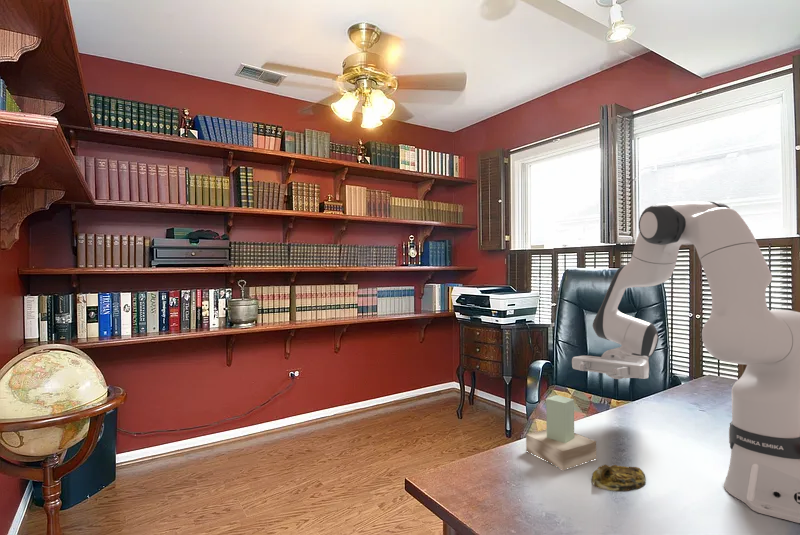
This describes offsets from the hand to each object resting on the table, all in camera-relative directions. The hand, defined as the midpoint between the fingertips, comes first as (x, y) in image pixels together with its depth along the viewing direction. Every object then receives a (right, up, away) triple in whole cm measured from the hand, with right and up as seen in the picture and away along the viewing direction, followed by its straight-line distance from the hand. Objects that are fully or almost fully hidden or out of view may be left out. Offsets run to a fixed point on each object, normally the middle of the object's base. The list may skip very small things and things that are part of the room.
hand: (597, 369), depth 119 cm
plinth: (-14, -20, -9) cm, 26 cm away
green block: (-14, -15, -9) cm, 23 cm away
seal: (-5, -20, -22) cm, 30 cm away
